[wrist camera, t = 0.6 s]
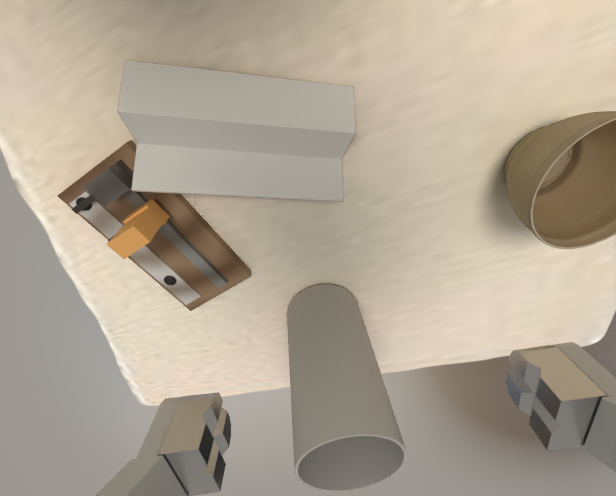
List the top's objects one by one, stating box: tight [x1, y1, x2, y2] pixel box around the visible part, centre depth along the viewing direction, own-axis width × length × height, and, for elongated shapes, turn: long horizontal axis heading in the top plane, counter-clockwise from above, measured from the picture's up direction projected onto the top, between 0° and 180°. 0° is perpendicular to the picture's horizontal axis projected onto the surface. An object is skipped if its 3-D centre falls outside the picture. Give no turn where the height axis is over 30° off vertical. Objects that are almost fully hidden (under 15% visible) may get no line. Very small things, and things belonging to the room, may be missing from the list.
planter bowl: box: [504, 111, 616, 249], centre depth 41 cm, size 16×16×11 cm
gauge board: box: [58, 140, 251, 311], centre depth 44 cm, size 24×12×5 cm, turn 32°
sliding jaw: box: [107, 199, 170, 259], centre depth 39 cm, size 3×9×8 cm, turn 122°
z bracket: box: [117, 60, 356, 202], centre depth 37 cm, size 12×25×6 cm
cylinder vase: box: [287, 284, 407, 492], centre depth 46 cm, size 12×12×25 cm
